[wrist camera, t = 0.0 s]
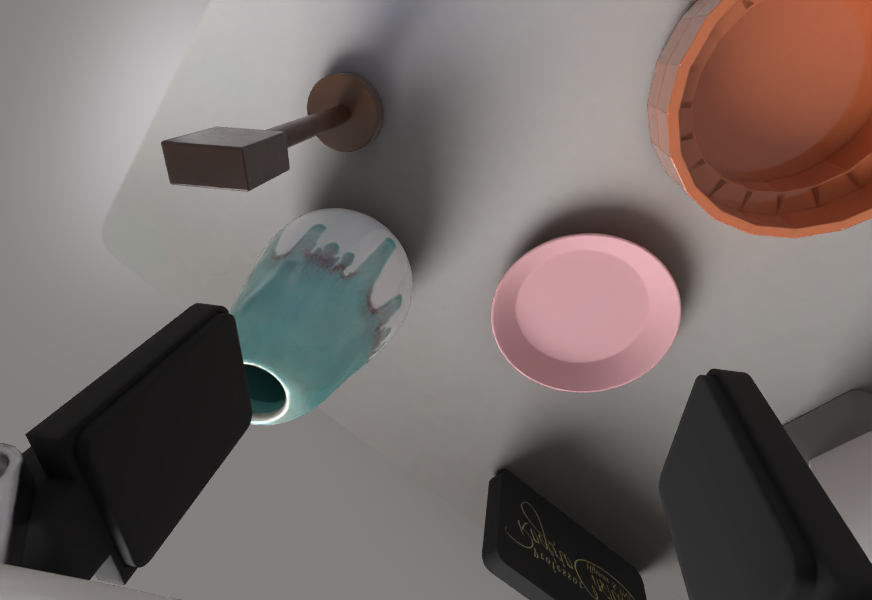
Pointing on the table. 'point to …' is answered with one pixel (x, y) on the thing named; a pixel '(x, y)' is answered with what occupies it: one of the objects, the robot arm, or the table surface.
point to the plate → (586, 312)
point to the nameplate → (549, 550)
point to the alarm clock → (841, 457)
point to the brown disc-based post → (276, 138)
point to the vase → (318, 309)
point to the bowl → (769, 113)
